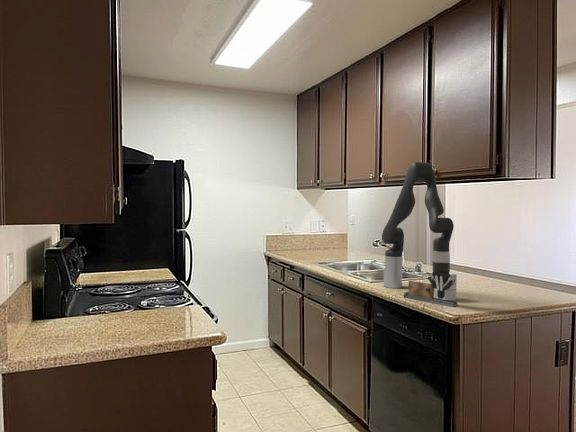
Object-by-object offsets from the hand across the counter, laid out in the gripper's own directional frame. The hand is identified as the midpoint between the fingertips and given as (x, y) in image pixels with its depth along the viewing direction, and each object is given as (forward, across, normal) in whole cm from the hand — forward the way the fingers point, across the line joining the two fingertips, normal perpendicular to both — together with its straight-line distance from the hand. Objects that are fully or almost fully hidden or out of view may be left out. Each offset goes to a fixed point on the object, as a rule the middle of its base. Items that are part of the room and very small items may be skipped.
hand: (440, 298), depth 198 cm
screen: (+1, -11, -1) cm, 11 cm away
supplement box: (+3, -4, +11) cm, 12 cm away
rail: (+2, -6, 0) cm, 6 cm away
